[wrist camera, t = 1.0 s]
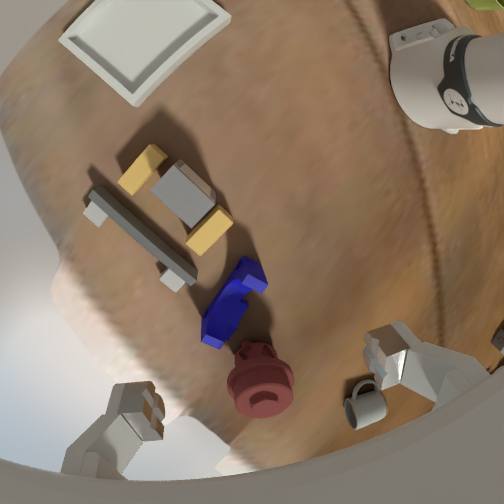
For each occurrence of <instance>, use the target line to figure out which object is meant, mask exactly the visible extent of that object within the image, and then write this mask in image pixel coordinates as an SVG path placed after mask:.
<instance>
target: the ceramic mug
mask: <svg viewBox="0 0 504 504" xmlns="http://www.w3.org/2000/svg"><path fill="white" fill-rule="evenodd" d="M365 383H372V384H374V387H375V390H374V391H370V392H367V393H364V394H360V395H357V392H358V390H359V389H360V388H361V386H362V385H364V384H365ZM344 408H345V414H346V417H347V420H348V422H349V424H350V426H351V427H352V428H353V429H354V430H357V429H360V428H362V427H364V426H367V425H369V424H371V423H373V422H376V421H378V420H380V419H382V418H383V417H385V416H386V414H387V412H388V404H387V400H386V398H385V396H384V394H383V393H382V392H380V391H379V388H378V385H377V384H376V382H374V381H373V380H370V379H365V380H362V381H360V382H359V383H358V384H357V385H356V386H355V388H354V390H353V394H352V397H350V398H347V399H346V400H345V403H344Z"/></svg>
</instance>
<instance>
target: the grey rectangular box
mask: <svg viewBox="0 0 504 504" xmlns="http://www.w3.org/2000/svg"><path fill="white" fill-rule="evenodd" d="M150 191H151V192H152V193H153V194H154V195H155V196H156V197H157V198H158V199H159V200H160V201H162V202H163V203H164V204H165V205H166V206H167V207H168V208H169V209H170V210H172V211H173V212H174V213H175V214H176V215H177V216H178V217H179V218H180V219H182V220H183V221H184V222H185V223H186V224H187V225H188V226H189V227H190V228H192V227H193V226H194V225H195V224H196V223H197V222H198V221H199V220H200V219H201V218H202V217H203V216H204V215H205V214H206V213H207V212H208V211H209V210H210V209H211V208H212V207H213V206H214V205H215V201H216V193H215V191H214V190H213V189H212V188H211V187H210V186H208V185H207V184H206V183H205V182H204V181H203V180H202V179H201V178H200V177H199V176H198V175H197V174H196V173H195V172H194V171H193V170H191V169H190V168H189V167H188V166H187V165H186V164H185V163H184V162H183V161H182V160H179V161H177V162H176V163H174V165H173V166H172V167H171V168H170V169H169V170H168V171H167V172H166V173H165V174H164V175H163V177H162V178H161V179H160V180H159V181H158V182H157V183H156V184H155V185H154V187H153V188H152V189H151V190H150Z"/></svg>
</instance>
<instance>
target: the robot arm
mask: <svg viewBox="0 0 504 504" xmlns="http://www.w3.org/2000/svg"><path fill="white" fill-rule="evenodd" d="M401 37H402V38H403V40H402V39H401ZM389 43H390V48H391V52H392V59H391V65H390V78H391V84H392V88H393V91H394V94H395V97H396V99H397V101H398V103H399V104H400V106H401V108H402V109H403V111H404V112H405V113H406V114H407V115H408V116H409V117H410V118H411V119H412V120H413V121H414V122H416V123H417V124H419V125H421V126H423V127H426V128H431V129H442V130H444V131H446V132H447V133H449V134H456V133H458V131H459V130H460V129H481V128H483V126H486V127H500V126H503V125H504V33H499V34H495V35H490V36H484V37H482V36H479V35H474V34H473V33H472V32H471V31H470V30H469V29H468V28H466V27H464V26H460V27H455V26H454V25H453V24H452V23H451V22H449V21H448V20H447V19H445V18H442V19H437V20H434V21H430V22H427V23H424V24H420V25H417V26H414V27H411V28H408V29H405V30H402V31H399V32H396V33H393V34H391V35H390V36H389ZM364 341H365V343H366V344H367V345H366V346H365V348H364V353H363V356H364V361H365V364H366V366H367V368H368V370H369V371H370V372H373V373H375V376H374V379H375V381H376V383H377V384H378V386H379V387H380V389H381V390H383V389H386V388H389V387H391V386H394V385H397V384H399V383H401V385H403V386H405V387H407V388H409V389H411V390H413V391H415V392H416V393H418V394H420V395H422V396H424V397H426V398H428V399H430V400H432V401H434V402H435V405H434V407H433V410H432V411H431V412H429V413H427V414H425V415H423V416H421V417H419V418H417V419H415V420H413V421H411V422H409V423H407V424H405V425H402V426H400V427H398V428H396V429H393V430H391V431H389V432H386V433H384V434H382V435H379V436H377V437H374V438H372V439H369V440H367V441H364V442H361V443H359V444H356V445H353V446H350V447H347V448H345V449H342V450H339V451H335V452H332V453H329V454H326V455H323V456H319V457H316V458H312V459H309V460H305V461H301V462H297V463H293V464H289V465H285V466H280V467H276V468H271V469H266V470H261V471H255V472H250V473H243V474H237V475H230V476H222V477H213V478H203V479H190V480H172V481H171V480H170V481H133V480H128V479H126V478H125V477H124V476H123V475H122V472H123V471H124V469H125V468H126V466H127V465H128V464H129V462H130V461H131V459H132V458H133V457H134V455H135V454H136V452H137V451H138V449H139V448H140V446H141V445H142V444H143V441H155V440H163V432H164V426H163V424H162V423H161V421H162V420H163V419H164V418H165V407H164V403H163V400H162V398H161V396H160V395H159V394H157V393H155V386H154V384H153V383H152V382H151V381H144V382H132V383H122V384H115V385H114V386H113V389H112V393H111V396H110V399H109V403H108V407H107V410H106V414H105V415H101V416H100V418H98V419H97V420H96V421H95V422H94V423H93V424H92V425H91V426H90V427H89V428H88V429H87V430H86V431H85V432H84V433H83V434H82V435H81V436H80V437H79V438H78V439H77V440H76V441H75V442H74V443H73V444H71V445H70V446H69V447H68V448H67V450H66V454H65V457H64V461H63V465H62V469H61V472H60V473H58V472H52V471H47V470H42V469H37V468H33V467H29V466H25V465H21V464H17V463H14V462H10V461H7V460H4V459H0V504H504V366H503V367H501V368H500V369H499V370H497V371H496V372H494V373H493V374H492V375H490V374H489V373H488V372H487V371H486V369H485V368H484V367H483V366H482V365H481V364H480V363H479V362H478V361H477V360H476V359H475V358H474V357H472V356H469V355H465V354H462V353H459V352H456V351H452V350H449V349H446V348H443V347H439V346H436V345H433V344H430V343H427V342H424V343H422V342H421V341H420V340H419V339H418V338H417V337H416V336H415V335H414V334H413V333H412V332H411V330H410V329H409V328H408V327H407V326H406V325H405V324H404V323H403V322H402V321H400V320H398V321H396V322H393V323H391V324H388V325H385V326H383V327H380V328H377V329H374V330H371V331H368V332H366V333H365V335H364Z"/></svg>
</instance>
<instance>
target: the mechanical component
mask: <svg viewBox="0 0 504 504" xmlns="http://www.w3.org/2000/svg"><path fill="white" fill-rule="evenodd" d="M241 346H242V348H241V349H240V350H239V351H238V352H237V353H236V355H235V365H236V367H235V368H234V369H233V370H232V371H231V372H230V374H229V376H228V379H227V387H228V392H229V394H230V396H231V397H232V398H233V399H234V400H235V407H236V409H237V410H238V412H240V413H241V414H242V415H244V416H247V417H251V418H267V417H272V416H275V415H277V414H280V413H281V412H283V411H285V410H286V409H287V408H288V407H289V406H290V405H291V403H292V401H293V392H292V388H293V385H294V376H293V373H292V370H291V368H290V367H289V365H288V364H286V363H285V362H283V361H281V360H279V359H278V357H277V353H276V351H275V349H274V348H273V347H272V346H270V345H268V344H265V343H252V342H250V341H248V340H245V341H243V342H242V344H241Z"/></svg>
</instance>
